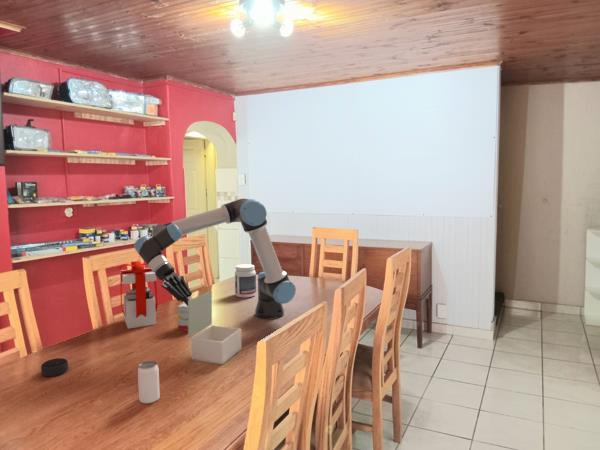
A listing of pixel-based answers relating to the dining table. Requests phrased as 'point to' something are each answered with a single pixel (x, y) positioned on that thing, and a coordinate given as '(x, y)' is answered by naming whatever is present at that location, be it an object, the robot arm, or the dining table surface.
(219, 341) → the storage box
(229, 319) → the dining table surface
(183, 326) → the ink box
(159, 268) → the robot arm
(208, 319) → the lid
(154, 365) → the can
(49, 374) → the smart speaker
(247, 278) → the supplement tub
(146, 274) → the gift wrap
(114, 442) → the dining table surface
